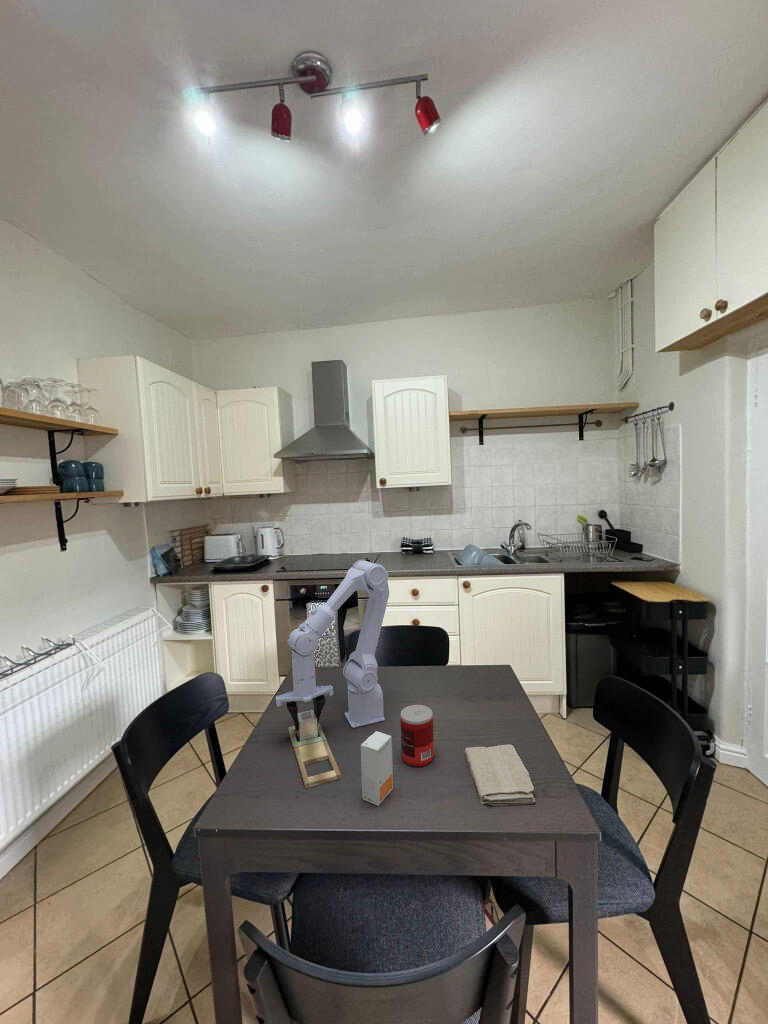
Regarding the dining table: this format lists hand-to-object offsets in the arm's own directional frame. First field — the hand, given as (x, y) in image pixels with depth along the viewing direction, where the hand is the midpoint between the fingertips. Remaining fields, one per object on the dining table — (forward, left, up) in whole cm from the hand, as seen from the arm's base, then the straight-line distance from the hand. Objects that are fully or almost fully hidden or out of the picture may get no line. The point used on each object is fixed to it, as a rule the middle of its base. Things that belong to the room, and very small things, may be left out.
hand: (306, 726), depth 114 cm
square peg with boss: (0, +1, -3) cm, 3 cm away
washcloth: (-36, +32, -4) cm, 49 cm away
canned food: (-23, +19, -3) cm, 30 cm away
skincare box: (-10, +27, -3) cm, 29 cm away
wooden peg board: (0, +7, -3) cm, 8 cm away
